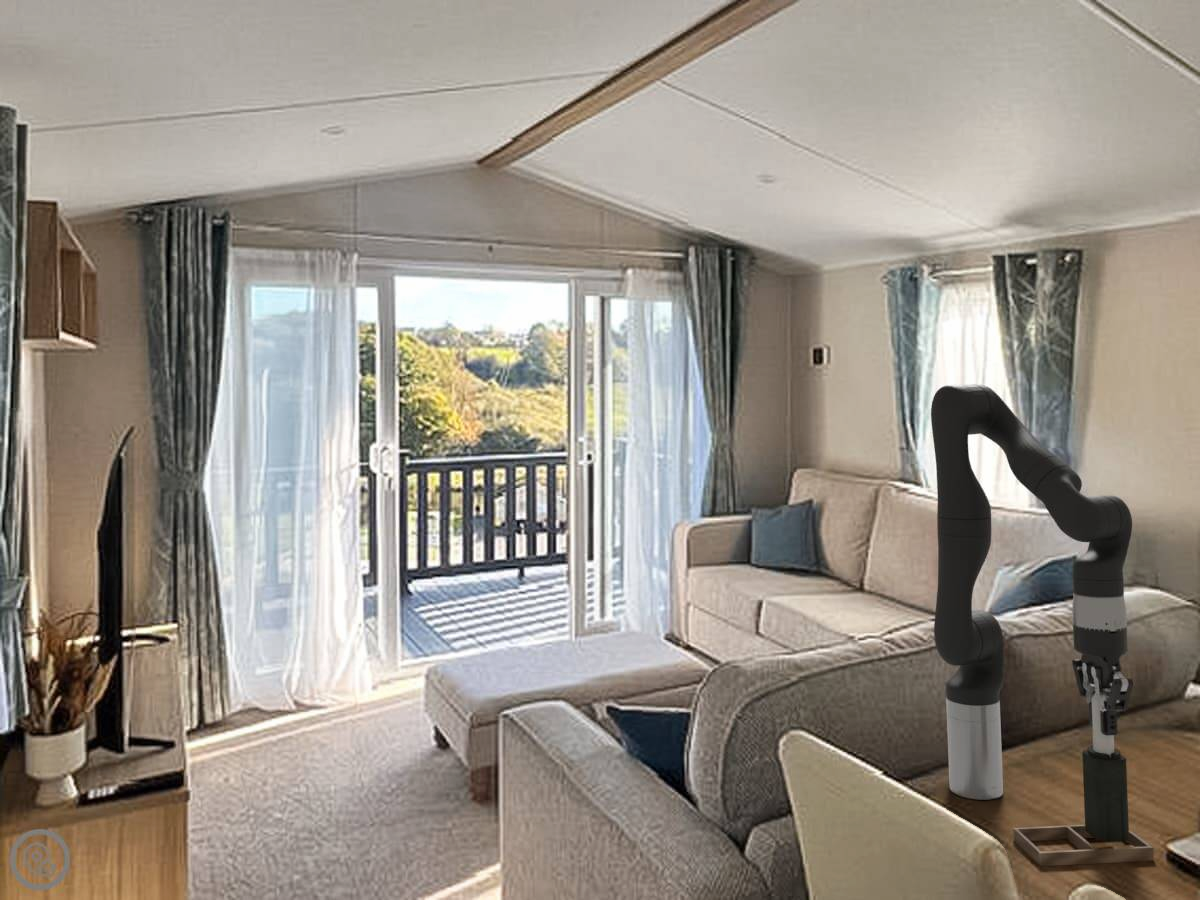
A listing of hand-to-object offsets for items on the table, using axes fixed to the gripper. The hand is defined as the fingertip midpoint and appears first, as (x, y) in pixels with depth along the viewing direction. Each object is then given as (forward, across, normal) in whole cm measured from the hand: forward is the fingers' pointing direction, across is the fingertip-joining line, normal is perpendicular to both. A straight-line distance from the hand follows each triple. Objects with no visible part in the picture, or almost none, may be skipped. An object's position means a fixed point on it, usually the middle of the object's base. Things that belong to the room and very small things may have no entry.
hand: (1103, 730), depth 145 cm
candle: (+17, 0, 0) cm, 17 cm away
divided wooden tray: (+19, 0, -4) cm, 19 cm away
